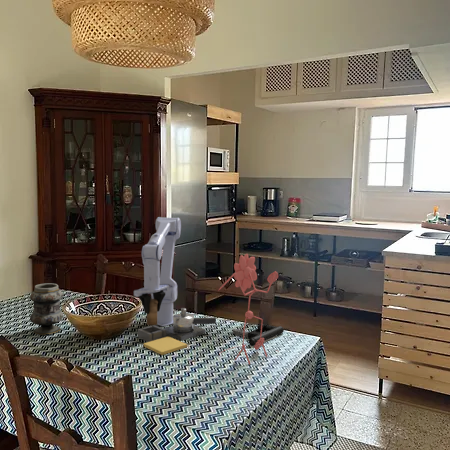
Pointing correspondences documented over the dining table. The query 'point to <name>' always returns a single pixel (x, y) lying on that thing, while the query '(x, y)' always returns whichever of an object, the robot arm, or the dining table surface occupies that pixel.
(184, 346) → the mat
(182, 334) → the chuck stand
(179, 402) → the dining table surface
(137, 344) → the dining table surface
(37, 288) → the apothecary jar
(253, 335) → the door handle
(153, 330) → the socket
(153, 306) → the brown upright block
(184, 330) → the lidded saucepan
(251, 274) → the pink stick man
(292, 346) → the dining table surface
